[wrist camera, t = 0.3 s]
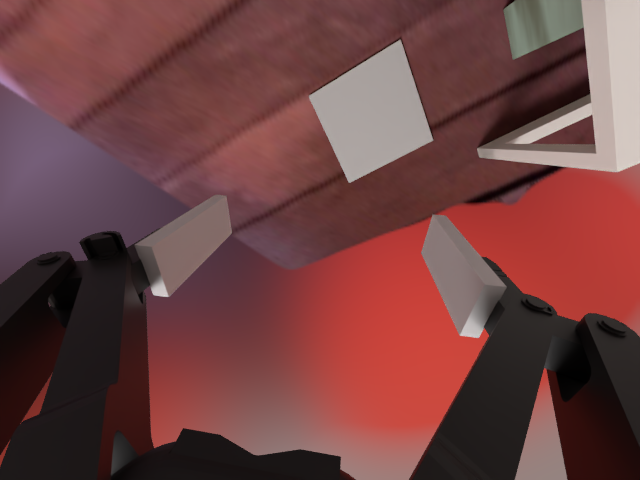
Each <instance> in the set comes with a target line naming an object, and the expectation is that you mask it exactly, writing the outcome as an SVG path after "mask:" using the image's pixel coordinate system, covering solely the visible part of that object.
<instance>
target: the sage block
mask: <svg viewBox="0 0 640 480" xmlns="http://www.w3.org/2000/svg"><path fill="white" fill-rule="evenodd" d="M504 15H505V21H506V26H507V31H508V36H509V41H510V47H511V52H512V57H513V60H514V59H516V58H518V57H520V56H522V55H525V54H527V53H529V52H531V51H533V50H536V49H538V48H540V47H542V46H544V45H547V44H549V43H551V42H553V41H555V40H557V39H560V38H562V37H564V36H566V35H568V34H571V33H573V32H575V31H577V30H579V29H582V28H584V24H583V14H582V4H581V0H515V1H514V2H513V3H511V4H510V5H509V6H507V7H506V8H505V9H504Z"/></svg>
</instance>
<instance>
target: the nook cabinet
mask: <svg viewBox="0 0 640 480" xmlns="http://www.w3.org/2000/svg"><path fill="white" fill-rule="evenodd" d="M581 4H582V14H583V24H584V34H585V44H586V54H587V64H588V74H589V84H590V94H589V95H587V96H585V97H583V98H581V99H579V100H577V101H574V102H572V103H570V104H568V105H566V106H564V107H562V108H560V109H558V110H556V111H554V112H552V113H549V114H547V115H545V116H543V117H541V118H539V119H537V120H535V121H533V122H531V123H529V124H527V125H524V126H522V127H520V128H518V129H516V130H514V131H512V132H510V133H508V134H506V135H504V136H502V137H499V138H497V139H495V140H493V141H491V142H489V143H487V144H485V145H483V146H481V147H479V148H477V151H478V154H479V157H480V158H489V159H498V160H508V161H517V162H526V163H536V164H545V165H554V166H564V167H574V168H583V169H592V170H602V171H611V172H619V171H621V170H624V169H626V168H629V167H631V166H633V165H636V164H639V163H640V0H581ZM592 114H593V124H594V134H595V144H596V145H583V144H529V143H532V142H534V141H536V140H538V139H540V138H542V137H545V136H547V135H549V134H551V133H553V132H555V131H558V130H560V129H562V128H564V127H566V126H568V125H571V124H573V123H575V122H577V121H579V120H581V119H583V118H586V117H588V116H590V115H592Z"/></svg>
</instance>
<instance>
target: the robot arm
mask: <svg viewBox="0 0 640 480" xmlns="http://www.w3.org/2000/svg"><path fill="white" fill-rule="evenodd" d="M231 234H232V231H231V224H230V217H229V210H228V204H227V197H226V196H222V195H214V196H213V197H211V198H209V199H208V200H206V201H204V202H203V203H201V204H200V205H198V206H196V207H195V208H193V209H192V210H190V211H188V212H187V213H185V214H183V215H182V216H180V217H179V218H177V219H175V220H174V221H172V222H171V223H169V224H167V225H166V226H164V227H162V228H159V229H157V230H156V231H154V232H152V233H151V234H149V235H147V236H146V237H145V238H143V239H141V240H139V241H138V242H136V243H134V244H133V245H131V246H129V247H128V248H126V246H125V244H124V241H123V239H122V237H121V234H120V233H119V232H116V231H107V232H100V233H96V234H93V235H90V236H87V237H85V238H83V239H82V240H81V241H80V245H81V247H82V249H83V251H84V253H85V254H86V256H87V258H88V260H87V261H74V259H73V258H72V256H71V254H70V253H69V252H64V251H63V252H54V253H52V252H50V253H46V254H42V255H40V256H39V257H36V258H34V259H32V260H30V261H29V262H27V263H26V264H25V265H24V266H22V267H21V268H20V269H19V270H17V271H16V272H15V273H14V274H13V275H11V276H10V277H9V278H8V279H7V280H5V281H4V282H3V283H2V284H0V455H1V453H2V452H3V450H4V448H5V447H6V445H7V444H8V442H9V441H10V443H9V445H8V448H7V450H6V453H5V456H4V458H3V461H2V464H1V467H0V480H355V479H354V478H353V477H351V476H350V475H349V474H347V473H345V472H344V471H342V470H340V460H341V457H339V456H334V455H328V454H322V453H317V452H312V451H306V450H293V451H287V452H280V453H273V454H267V455H259V456H257V455H253V454H251V453H250V452H248V451H246V450H244V449H243V448H241V447H239V446H238V445H236V444H234V443H233V442H231V441H229V440H228V439H226V438H224V437H223V436H221V435H218V434H212V433H207V432H201V431H195V430H189V429H184V428H183V430H182V431H181V433H180V435H179V437H178V439H177V441H176V442H172V443H168V444H164V445H161V446H159V447H156V448H154V446H153V442H152V438H151V427H150V426H151V425H150V397H149V370H148V369H149V368H148V341H147V340H148V339H147V311H146V295H145V293H144V290H145V289H146V288H147V287H148V286H150V287H151V290H152V292H153V295H156V296H164V297H169V296H171V294H172V293H173V292H174V291H175V290H176V289H177V288H178V287H179V286H180V285H181V284H182V283H183V282H184V281H185V280H186V279H187V278H188V277H189V276H190V275H191V274H192V273H193V272H194V271H195V270H196V269H197V268H198V267H199V266H200V265H201V264H202V263H203V262H204V261H205V260H206V259H207V258H208V257H209V256H210V255H211V254H212V253H213V252H214V251H215V250H216V249H217V248H218V247H219V246H220V245H221V244H222V243H223V242H224V241H225V240H226V239H227V238H228V237H229V236H230V235H231ZM421 254H422V256H423V258H424V260H425V262H426V264H427V266H428V269H429V271H430V273H431V275H432V277H433V279H434V281H435V284H436V286H437V288H438V290H439V292H440V294H441V296H442V298H443V301H444V302H445V305H446V307H447V309H448V311H449V313H450V316H451V318H452V320H453V322H454V324H455V326H456V329H457V331H458V333H459V335H460V336H468V337H475V338H479V336H480V334H481V333H482V331H483V329H484V328H485V329H486V331H487V333H488V334H489V337H488V339H487V341H486V343H485V345H484V346H483V348H482V350H481V351H480V353H479V355H478V357H477V359H476V360H475V362H474V364H473V366H472V368H471V370H470V371H469V373H468V375H467V377H466V378H465V380H464V382H463V384H462V386H461V387H460V389H459V391H458V393H457V395H456V396H455V398H454V400H453V402H452V403H451V405H450V407H449V409H448V411H447V412H446V414H445V416H444V418H443V420H442V422H441V423H440V425H439V427H438V428H437V430H436V432H435V434H434V436H433V437H432V439H431V441H430V443H429V445H428V446H427V448H426V450H425V452H424V454H423V455H422V457H421V459H420V461H419V462H418V465H417V466H416V468H415V470H414V471H413V473H412V475H411V477H410V479H409V480H514V479H515V476H516V472H517V469H518V465H519V461H520V457H521V453H522V450H523V446H524V442H525V438H526V434H527V430H528V427H529V422H530V419H531V415H532V411H533V408H534V403H535V400H536V396H537V392H538V388H539V385H540V381H541V377H542V373H543V370H544V368H546V369H547V374H548V380H549V385H550V390H551V395H552V401H553V406H554V411H555V416H556V421H557V427H558V432H559V437H560V443H561V448H562V453H563V458H564V464H565V469H566V474H567V479H568V480H640V337H639V336H638V335H637V334H636V333H635V332H634V331H633V330H631V329H630V328H629V327H627V326H626V325H625V324H623V323H621V322H619V321H617V320H615V319H612V318H609V317H607V316H603V315H599V314H594V313H593V314H592V313H588V314H586V315H585V316H584V317H583V318H582V319H581V321H580V322H578V321H575V320H571V319H568V318H565V317H562V316H558V315H557V312H556V311H555V309H554V308H553V307H552V306H551V305H549V304H548V303H546V302H545V301H543V300H541V299H539V298H537V297H534V296H531V295H528V294H523V293H522V292H521V291H520V289H519V288H518V287H517V286H516V285H515V284H514V283H513V282H512V281H511V280H510V279H509V278H508V277H507V275H506V274H505V273H504V272H502V270H501V269H500V268H499V267H498V266H497V265H496V263H494V262H493V261H491V260H489V259H488V258H486V257H481V256H480V255H479V254H478V253H477V252H476V251H475V249H474V248H473V247H472V246H471V245H470V243H469V242H468V241H467V240H466V239H465V238H464V236H463V235H462V234H461V233H460V232H459V231H458V229H457V228H456V227H455V226H454V225H453V224H452V222H451V221H450V220H449V219H448V218H447V217H446V216H442V215H433V216H432V219H431V222H430V226H429V229H428V232H427V236H426V239H425V242H424V245H423V249H422V252H421ZM48 302H49V303H50V305H51V306H50V307H49V305H48ZM52 372H53V373H52ZM51 374H52V377H51V380H50V383H49V386H48V389H47V393H46V396H45V399H44V402H43V405H42V409H41V411H40V414H39V415H37V416H34V417H32V418H30V419H27V420H25V421H23V422H22V420H23V418H24V417H25V415H26V414H27V412H28V410H29V409H30V407H31V406H32V404H33V402H34V401H35V399H36V398H37V396H38V394H39V393H40V391H41V390H42V388H43V387H44V385H45V383H46V382H47V380H48V379H49V377H50V376H51ZM21 422H22V423H21ZM20 423H21V424H20ZM10 439H11V440H10Z"/></svg>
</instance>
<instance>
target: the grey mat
mask: <svg viewBox="0 0 640 480" xmlns="http://www.w3.org/2000/svg"><path fill="white" fill-rule="evenodd" d="M309 98H310V100H311V102H312V105H313V107H314V109H315V111H316V113H317V115H318V117H319V120H320V122H321V124H322V126H323V128H324V130H325V132H326V135H327V137H328V139H329V141H330V143H331V145H332V147H333V150H334V152H335V154H336V156H337V158H338V160H339V162H340V165H341V167H342V169H343V171H344V173H345V175H346V177H347V179H348V182H349V183H350V182H352V181H354V180H356V179H358V178H360V177H362V176H364V175H366V174H368V173H370V172H372V171H374V170H376V169H378V168H380V167H382V166H384V165H386V164H388V163H390V162H392V161H393V160H395V159H397V158H399V157H401V156H403V155H405V154H407V153H409V152H411V151H413V150H415V149H417V148H419V147H421V146H423V145H425V144H427V143H429V142H431V141H433V138H432V135H431V132H430V129H429V126H428V123H427V119H426V116H425V113H424V110H423V107H422V104H421V101H420V98H419V95H418V92H417V89H416V85H415V82H414V79H413V76H412V73H411V70H410V67H409V64H408V61H407V58H406V55H405V51H404V48H403V45H402V42H401V39H400V40H399V41H397V42H395V43H394V44H392V45H391V46H389V47H387V48H386V49H384V50H383V51H381V52H379V53H378V54H376V55H374V56H373V57H371V58H370V59H368V60H366V61H365V62H363V63H361V64H360V65H358V66H357V67H355V68H353V69H352V70H350V71H349V72H347V73H345V74H344V75H342V76H340V77H339V78H337V79H336V80H334V81H332V82H331V83H329V84H328V85H326V86H324V87H323V88H321V89H319V90H318V91H316V92H315V93H313V94H311V95H310V96H309Z"/></svg>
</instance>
